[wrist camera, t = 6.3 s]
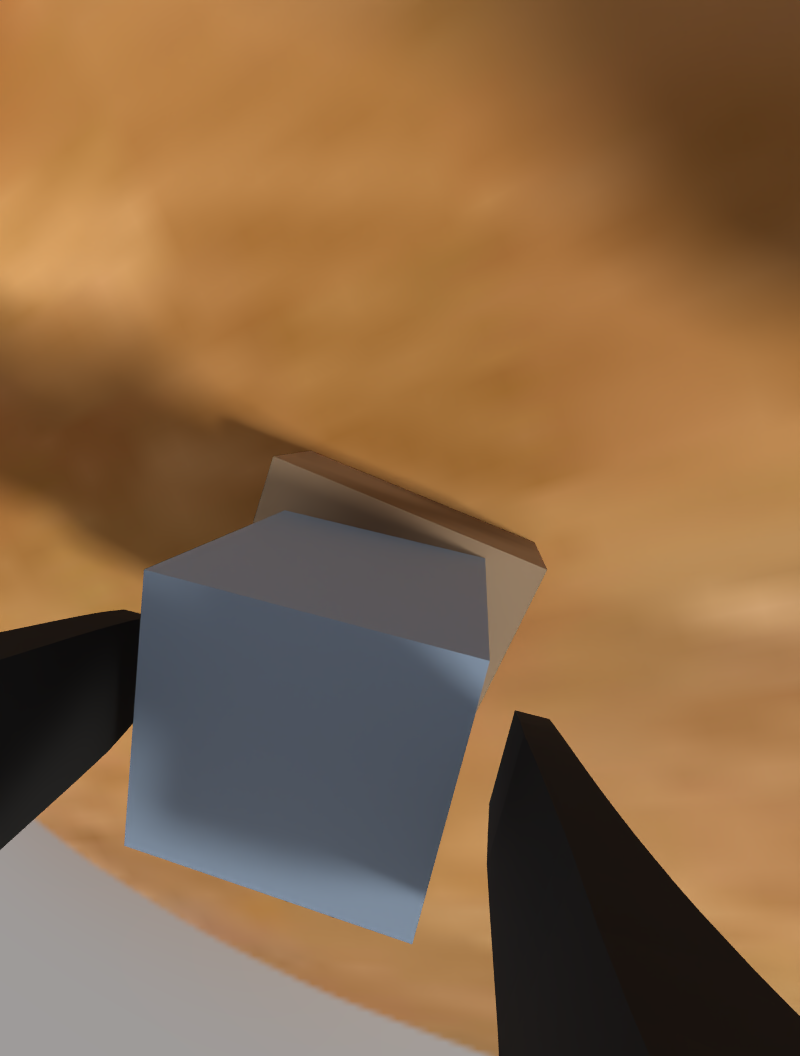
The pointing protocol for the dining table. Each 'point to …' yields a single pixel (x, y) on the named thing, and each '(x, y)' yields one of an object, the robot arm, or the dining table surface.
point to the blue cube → (307, 713)
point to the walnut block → (411, 531)
